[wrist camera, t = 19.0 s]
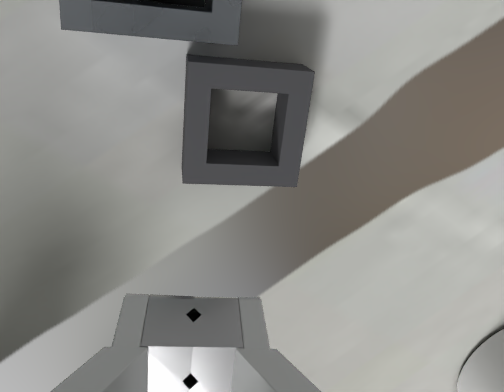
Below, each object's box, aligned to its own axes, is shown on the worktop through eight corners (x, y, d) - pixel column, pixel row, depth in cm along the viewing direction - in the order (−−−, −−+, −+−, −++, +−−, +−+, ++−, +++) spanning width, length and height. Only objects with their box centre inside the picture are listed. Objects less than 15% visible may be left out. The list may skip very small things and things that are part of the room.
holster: (302, 64, 31) (314, 71, 29) (286, 171, 35) (296, 186, 32) (186, 54, 30) (188, 61, 27) (181, 167, 33) (182, 183, 30)
